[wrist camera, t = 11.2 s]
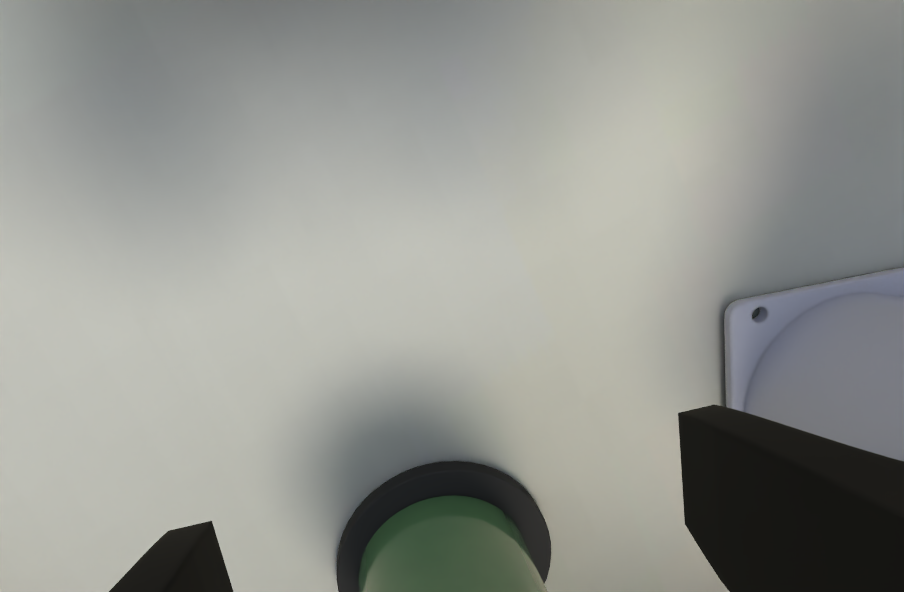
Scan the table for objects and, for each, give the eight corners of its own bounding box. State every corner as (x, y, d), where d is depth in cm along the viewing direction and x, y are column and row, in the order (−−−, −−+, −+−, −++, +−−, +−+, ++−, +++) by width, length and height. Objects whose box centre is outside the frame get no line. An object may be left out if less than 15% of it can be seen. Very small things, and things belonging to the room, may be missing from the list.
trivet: (534, 440, 21) (540, 449, 21) (555, 615, 23) (561, 628, 23) (317, 487, 20) (316, 497, 20) (358, 665, 22) (358, 679, 22)
